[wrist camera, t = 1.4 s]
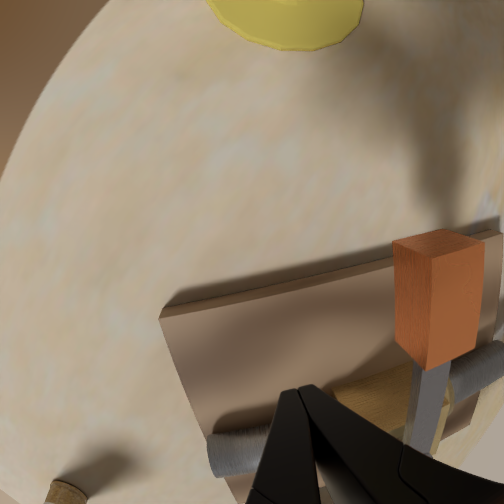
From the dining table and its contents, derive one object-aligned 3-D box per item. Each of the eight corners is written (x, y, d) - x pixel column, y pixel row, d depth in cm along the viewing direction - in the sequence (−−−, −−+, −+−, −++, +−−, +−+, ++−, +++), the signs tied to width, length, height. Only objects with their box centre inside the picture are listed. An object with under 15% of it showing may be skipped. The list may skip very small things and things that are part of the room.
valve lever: (418, 452, 15) (435, 478, 12) (382, 467, 15) (397, 496, 12) (442, 228, 11) (484, 242, 9) (392, 241, 11) (431, 258, 9)
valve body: (478, 369, 21) (518, 405, 15) (222, 455, 20) (225, 520, 14) (487, 320, 20) (536, 353, 14) (203, 409, 19) (200, 481, 13)
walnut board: (462, 416, 24) (469, 424, 23) (237, 492, 23) (238, 503, 21) (490, 229, 19) (503, 233, 18) (162, 307, 18) (158, 318, 16)
